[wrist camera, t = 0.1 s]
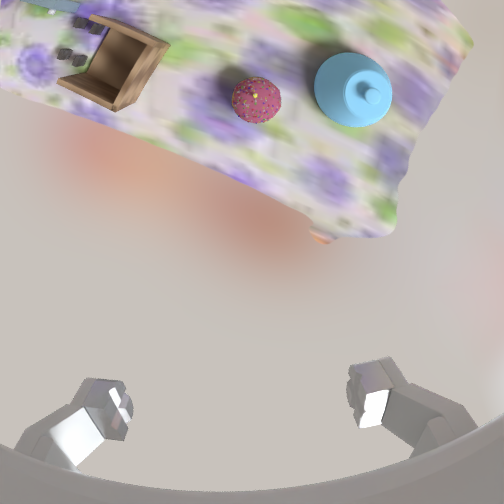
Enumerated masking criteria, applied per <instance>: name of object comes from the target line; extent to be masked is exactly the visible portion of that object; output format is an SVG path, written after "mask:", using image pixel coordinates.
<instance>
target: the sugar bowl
mask: <svg viewBox="0 0 504 504" xmlns="http://www.w3.org/2000/svg"><path fill="white" fill-rule="evenodd" d="M314 91H315V97H316V100H317V103H318V105H319V107H320V108H321V110H322V111H323V112H324V113H325V115H327V116H328V117H329V118H330V119H332V120H333V121H335V122H337V123H339V124H341V125H345V126H349V127H363V126H368V125H371V124H373V123H375V122H377V121H378V120H380V119H381V118H382V117H383V116H384V115H385V114H386V112H387V111H388V109H389V107H390V104H391V101H392V88H391V84H390V80H389V78H388V76H387V74H386V73H385V71H384V70H383V69H382V67H381V66H380V65H379V64H377V63H376V62H375V61H374V60H372V59H370V58H368V57H366V56H364V55H361V54H357V53H340V54H337V55H334V56H332V57H330V58H329V59H327V60H326V61H325V62H324V63H323V64H322V65H321V67H320V68H319V70H318V72H317V74H316V77H315V82H314Z"/></svg>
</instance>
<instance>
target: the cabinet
mask: <svg viewBox="0 0 504 504" xmlns="http://www.w3.org/2000/svg"><path fill="white" fill-rule="evenodd" d="M89 20H92V21H94V22H97V23H99V24H93V26H92V27H91V29H90V31H89V33H91V34H96V35H100V34H101V32H102V31H103V29H104V27H105V26H107V27H109V28H111V29H110V31H109V32H108V34H107V36H106V37H105V39H104V41H103V43H102V44H101V46H100V48H99V50H98V52H97V53H96V55H95V57H94V59H93V61H92V63H91V65H90V67H89V69H88V71H87V72H85V73H80V74H75V75H70V76H66V77H61V78H58V81H57V83H56V84H58V85H61V86H63V87H65V88H67V89H69V90H71V91H73V92H75V93H77V94H79V95H81V96H83V97H85V98H88V99H90V100H92V101H94V102H96V103H98V104H100V105H101V106H103V107H105V108H107V109H109V110H111V111H113V112H117V111H119V110H121V109H123V108H125V107H127V106H129V105H131V104H133V103H135V102H136V100H137V98H138V97H139V95H140V93H141V91H142V90H143V88H144V86H145V85H146V83H147V81H148V79H149V78H150V76H151V75H152V73H153V71H154V70H155V68H156V67H157V65H158V63H159V62H160V60H161V59H162V57H163V56H164V54H165V53H166V51H167V50H168V48H169V47H170V44H168V43H166V42H164V41H162V40H160V39H158V38H156V37H154V36H152V35H150V34H148V33H145V32H143V31H141V30H139V29H137V28H134V27H132V26H130V25H127V24H125V23H123V22H120V21H118V20H115V19H111V18H107V17H103V16H98V15H94V14H91V16H90V17H89ZM89 20H88V19H84V18H77V20H76V22H75V23H74V25H73V27H75V28H82V29H85V27H86V25H87V24H88V22H89ZM100 24H102V25H100ZM103 25H104V26H103ZM72 51H73V50H71V49H61V50H60V53H59V55H58V57H57V59H59V60H65V59H69V57H70V55H71V53H72ZM87 58H88V57H87V56H85V55H80V56H76V57H75V59H74V61H73V63H72V65H73V66H75V67H77V66H84V64H85V62H86V60H87Z"/></svg>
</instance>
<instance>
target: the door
mask: <svg viewBox="0 0 504 504" xmlns="http://www.w3.org/2000/svg"><path fill="white" fill-rule="evenodd" d="M20 1H23V2H27V3H31V4H35V5H39V6H42V7H45V8H49V11H48V12H47V13H48V14H51V15H54V14H55V12H56V10H60V11H67V12H73V13H75V12H76V11H77V9H78V7H79V6H80V3H77V2H74V1H71V0H20Z"/></svg>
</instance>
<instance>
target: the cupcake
mask: <svg viewBox="0 0 504 504" xmlns="http://www.w3.org/2000/svg"><path fill="white" fill-rule="evenodd" d="M232 106H233V108H234V110H235V113H236V114H237V115H238V117H240V118H242V119H243V120H245V121H247V122H252V123H262V122H266V121H268V120H270V119H271V118H272V117H274V116H275V114H276V113H277V112H278V111H279V109H280V107H281V97H280V91H279V89H278V88H277V87H276V86H275V85H274V84H273V83H271V82H270V81H269V80H267V79H264V78H261V77H251V78H248V79H245V80H243V81H241V82H239V83H238V84H237V85H236V87H235V88H234V92H233V95H232Z"/></svg>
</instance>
